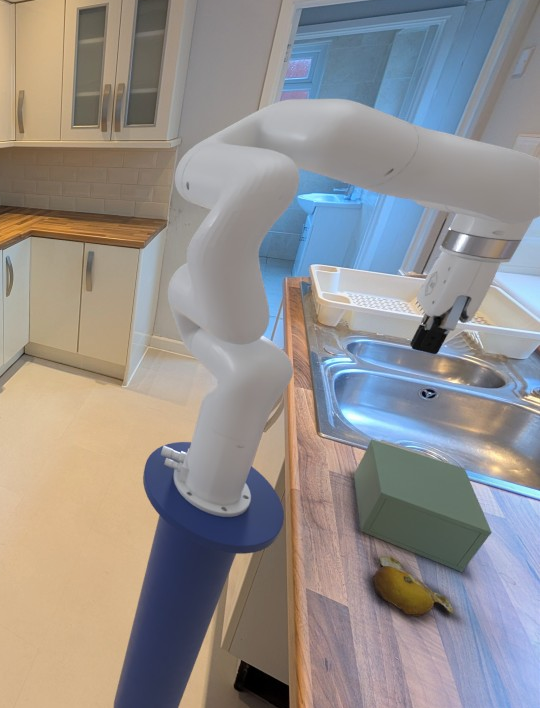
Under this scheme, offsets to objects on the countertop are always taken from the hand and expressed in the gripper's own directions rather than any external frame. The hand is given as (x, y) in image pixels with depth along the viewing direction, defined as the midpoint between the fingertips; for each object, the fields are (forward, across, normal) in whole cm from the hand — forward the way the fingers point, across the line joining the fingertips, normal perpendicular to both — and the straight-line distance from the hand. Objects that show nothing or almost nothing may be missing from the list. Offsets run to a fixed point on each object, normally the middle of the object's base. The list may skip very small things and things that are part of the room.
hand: (422, 349), depth 72 cm
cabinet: (+24, +14, +3) cm, 28 cm away
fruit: (+25, +29, +2) cm, 38 cm away
